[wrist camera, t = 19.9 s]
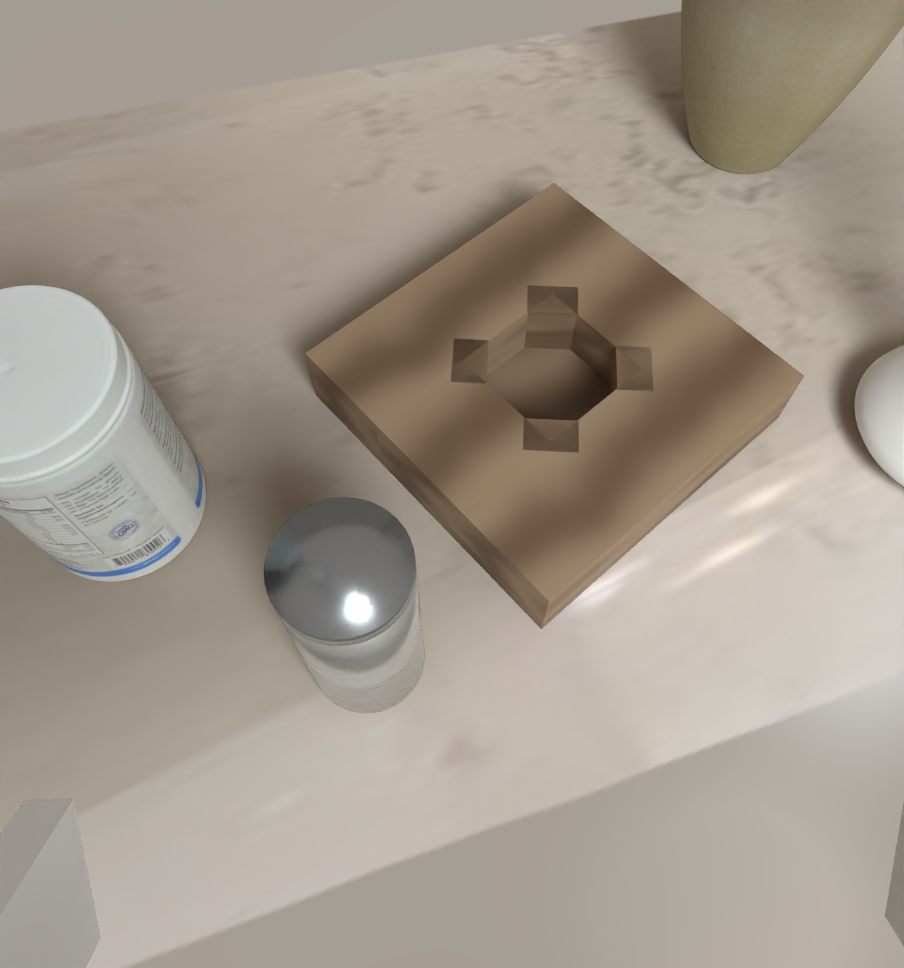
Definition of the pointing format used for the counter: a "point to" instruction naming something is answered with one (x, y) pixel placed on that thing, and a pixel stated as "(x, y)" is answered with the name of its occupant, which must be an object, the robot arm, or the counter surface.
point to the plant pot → (774, 71)
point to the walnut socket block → (550, 395)
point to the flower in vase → (883, 412)
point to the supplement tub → (88, 442)
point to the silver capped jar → (350, 601)
